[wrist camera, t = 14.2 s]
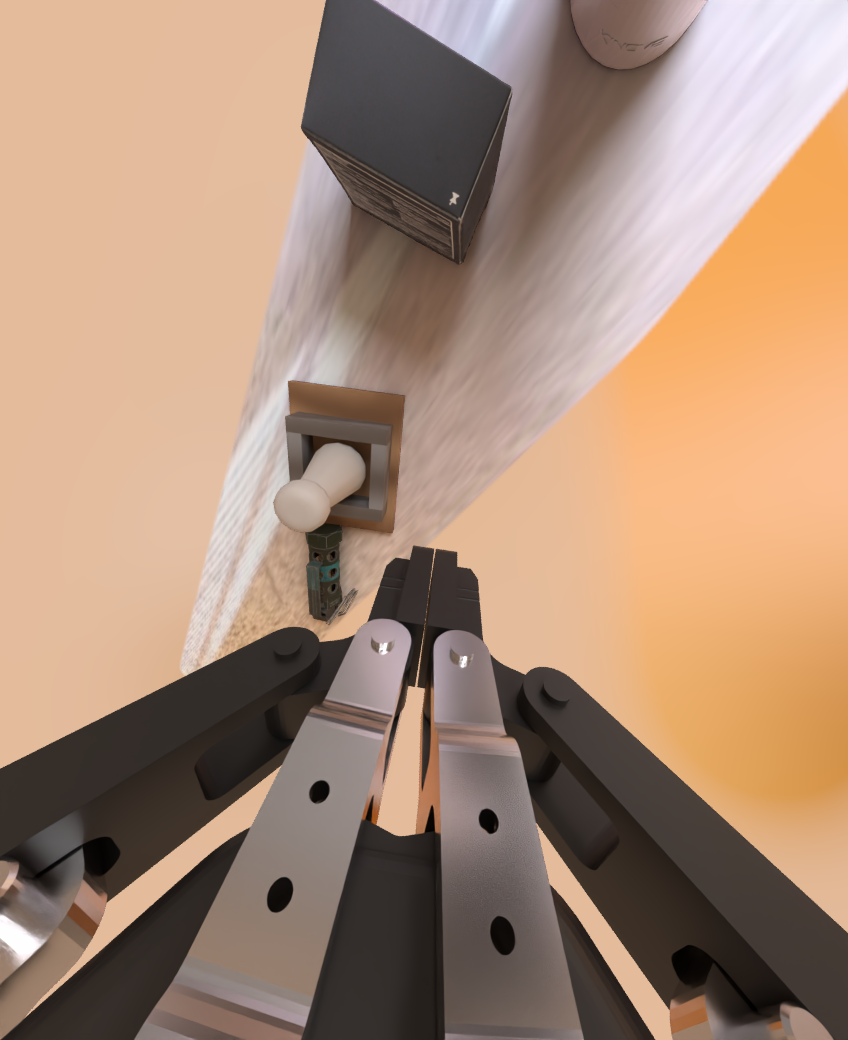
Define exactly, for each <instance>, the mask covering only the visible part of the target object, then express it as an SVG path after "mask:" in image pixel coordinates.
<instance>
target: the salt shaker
mask: <svg viewBox="0 0 848 1040" xmlns="http://www.w3.org/2000/svg"><path fill="white" fill-rule="evenodd" d="M365 477H366V467H365V463H364V461H363V459H362V457H361V455H360V454H359V453H358V452H357V451H356V450H355V449H354V448H353V447H351V446H349V445H346V444H342V443H339V442H338V443H331V444H325V445H324V446H322V447H321V448H320V449H319V450H317V451H316V453H315V454H314V456H313V458H312V460H311V462H310V463H309V465H308V467H307V469H306V471H305V472H304V474H303V476H302V478H301V480H292V481H290V482H289V483H287V484H286V485H285V486H283V487H282V488H281V489H280V490H279V491H278V493H277V495H276V497H275V500H274V502H273V503H274V509H275V513H276V515H277V516H278V518H279V520H280V521H281V523H283V524H284V525H285V526H287V527H288V528H290V529H291V530H294V531H298V532H301V533H303V532H312V531H313V530H315V529H317V528H318V527H320V526H321V525H323V524H324V523H325V521H326V519H327V517H328V515H329V513H330V509H331V507H332V506H334V505H335V504H337V503H338V502H340V501H341V500H343V499H344V498H346V497H348V496H349V495H351V494H352V493H354V492H355V491H357V490H358V489H360V487H361V485H362V483H363V482H364V480H365Z"/></svg>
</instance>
